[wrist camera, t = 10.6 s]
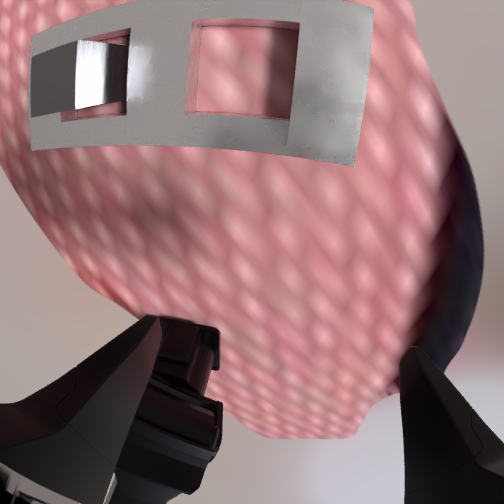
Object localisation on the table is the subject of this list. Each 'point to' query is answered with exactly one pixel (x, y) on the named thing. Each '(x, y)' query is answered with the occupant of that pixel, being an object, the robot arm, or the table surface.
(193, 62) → the metal plate with holes
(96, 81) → the dark grey block
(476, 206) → the table surface
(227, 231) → the table surface
